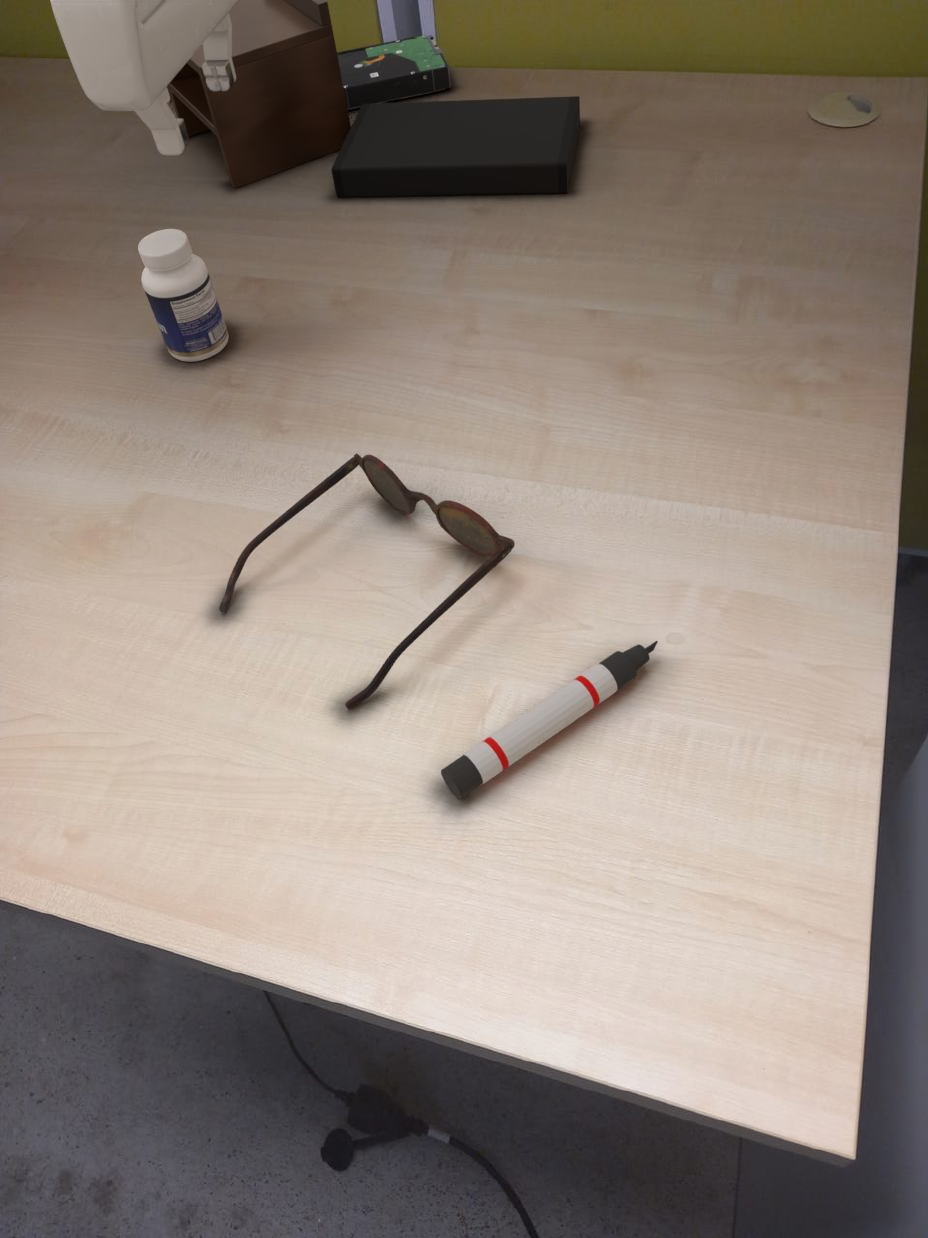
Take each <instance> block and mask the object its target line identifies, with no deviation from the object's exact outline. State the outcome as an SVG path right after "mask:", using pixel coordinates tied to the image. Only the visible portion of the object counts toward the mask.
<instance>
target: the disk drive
mask: <svg viewBox="0 0 928 1238" xmlns="http://www.w3.org/2000/svg"><path fill="white" fill-rule="evenodd" d="M337 56H338V61H339V66H340V72H341V77H342V82H343V88H344V93H345V98H346V104H347V109H348V111H350V110H354V109H360V107H361V105H362V104H375V103H388V102H390V101H395V100H403V99H408V98H413V97H419V96H423V95H427V94H431V93H437V92H440V91H444V90H446V89H450V88H452V81H451V72H450V71H451V70H450V66H449V63H448V61H447V59H446V57H445V56H444V54H443V51H442V49H441V48H440V47H439V45H438V44H437V42H436V40H435V39H434V35H433V34H429V35H426V34H425V35H420V36H408V37H405V38H401V39H397V40H391V41H386V42H381V43H377V44H370V45H366V46H361V47H356V48H352V49H351V48H350V49H346V50H342V51H337Z"/></svg>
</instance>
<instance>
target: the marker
mask: <svg viewBox="0 0 928 1238" xmlns="http://www.w3.org/2000/svg"><path fill="white" fill-rule="evenodd" d="M658 643H659V641H658V640H655V641H654V642H652V643H651V644H650V645H648V646H647V647H645V646H643V645H642V644H636V645H634V646H632V647H630V648H628V649H626V650H624V651H623V652H622V651H620V650H617V651H615V652H613V653H612V654H610V655H609V656H607V657H606V658H604V659H602V661H600V662H598V663H595V664H594V665H593V666H591V667H589V668H588V669H587V670H585V671H583V672H582V673H581V674H579V675H577V677H575V678H573V679H572V680H570V681H569V682H567V683H566V684H565V685H563V686H562V687H561V688H559V689H556V691H555V692H553V693H552V694H550V695H548V696H547V697H545V698H544V699H542V700H541V701H539V702H538V703H537V704H535V705H534V706H532V707H531V708H529V709H528V710H526V711H525V712H523V713H522V714H521V715H519V716H517V717H516V718H515V719H513V720H512V721H510V722H508V723H507V724H506V725H504V726H503V727H502V728H499V729H498V730H497V731H496V732H494V733H493V734H491V735H490V736H488V737H486V738H485V739H483V740H482V741H480V742H479V743H478V744H476V745H475V746H473V747H471V748H470V749H469V750H467V751H466V752H464V753H463V754H462V755H461V756H460V757H458V758H457V759H455V760H454V761H452V762H451V763H450V764H448V765H447V766H445V767H443V768H442V769H441V770H440V773H441V774H440V775H441V776H442V780H443V781H444V783H445V785H446V786H447V788H448V789H449V790H450V792H451V793H452V794H453V795H454V796H455V797H456V798H457V799H459V800H461V799H463V798H464V797H465V796H467V795H468V794H470V793H471V792H473V791H474V790H476V789H477V788H479V787H480V786H481V785H484V784H486V783H487V782H489V781H490V780H491V779H493V778H494V777H496V776H497V775H499V774H500V773H502V772H503V771H504V770H507V768H508V767H510V766H511V765H513V764H514V763H516V762H517V761H519V760H521V759H522V758H524V756H526V755H528V754H529V753H531V752H532V751H533V750H535V749H536V748H538V747H539V746H541V745H542V744H543V743H545V742H546V741H548V740H549V739H551V738H552V737H553V736H555V735H557V734H558V733H559V732H561V731H562V730H564V729H565V728H567V727H568V726H570V725H571V724H572V723H574V722H575V721H577V720H578V719H579V718H581V717H582V716H584V715H585V714H587V713H588V712H589V711H591V710H592V709H594V708H595V707H597V706H598V705H600V704H602V703H603V702H604V701H605V700H607V699H608V698H610V697H611V696H612V695H614V694H615V693H616V692H618V691H619V690H620V689H621V688H623V687H624V686H626V685H627V684H629V683H630V682H631V681H633V680H634V679H636V677H637V672H638V671H639V670H640V669H641V668H642V667H644V665H646V664H647V663H648V662H649V661H650V660H651V659H650V654H651V653H652V652H653V651H654V650H655V648H656V646H657V644H658Z"/></svg>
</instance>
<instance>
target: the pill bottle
mask: <svg viewBox="0 0 928 1238" xmlns="http://www.w3.org/2000/svg"><path fill="white" fill-rule="evenodd" d="M137 250H138V253H139V256H140V259H141V261H142V263H143V266H144V269H143V270H142V273H141V278H140V279H141V284H142V289H143V291H144V293H145V296H146V298H147V300H148V303H149V306H150V309H151V311H152V313H153V316H154V319H155V321H156V324H157V326H158V329H159V332H160V334H161V336H162V340H163V341H164V344H165V347H166V348H167V351H168V353H169V354H170V355H171V356H172V357H173V358H174V359H177V360H178V361H181V362H189V363H190V362H191V363H192V362H193V363H194V362H200V361H205V360H207V359H209V358H212V357H213V356H216V355H217V354H219V353H221V351H223V349H224V348H225V347H226V345H228V342H229V331H228V327H227V325H226V322H225V319H224V316H223V313H222V310H221V307H220V303H219V300H218V298H217V295H216V291H215V289H214V286H213V283H212V280H211V276H210V274H209V270H208V268H207V264H206V263H205V262H204V260H203V259H202V258H201V257H200V256H198V255H197V254H194V253H193V250H192V245H191V244H190V241H189V238H188V236H187V234H186V233H185V232H184V231H182V230H180V229H177V228H164V229H159V230H156V231H153V232H151V233H149V234H148V235H146V236H144V237H143V238H142V239H141V240H140V241H139V243H138V245H137Z"/></svg>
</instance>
